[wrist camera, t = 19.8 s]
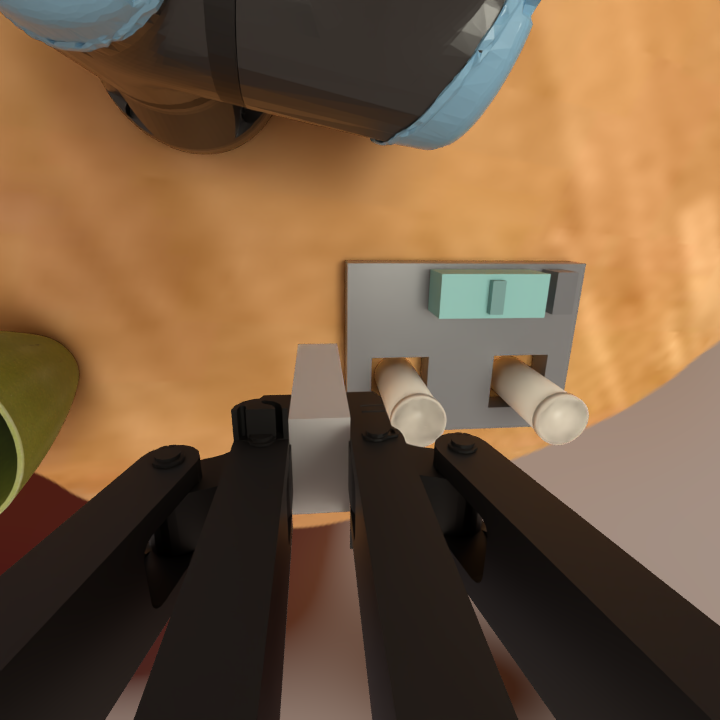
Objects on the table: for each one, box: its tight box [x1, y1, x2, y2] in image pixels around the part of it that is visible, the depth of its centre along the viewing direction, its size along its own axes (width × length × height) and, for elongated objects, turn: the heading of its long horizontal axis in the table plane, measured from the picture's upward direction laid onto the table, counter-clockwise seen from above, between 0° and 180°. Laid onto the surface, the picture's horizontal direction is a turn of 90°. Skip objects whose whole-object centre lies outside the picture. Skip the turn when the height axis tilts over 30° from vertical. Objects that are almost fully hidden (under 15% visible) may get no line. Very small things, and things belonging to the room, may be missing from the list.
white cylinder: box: [374, 357, 446, 447], centre depth 42 cm, size 5×5×12 cm
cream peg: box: [490, 356, 589, 445], centre depth 43 cm, size 5×5×12 cm
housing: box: [345, 260, 586, 430], centre depth 44 cm, size 18×24×6 cm
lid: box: [428, 269, 551, 319], centre depth 40 cm, size 4×10×5 cm, turn 89°
